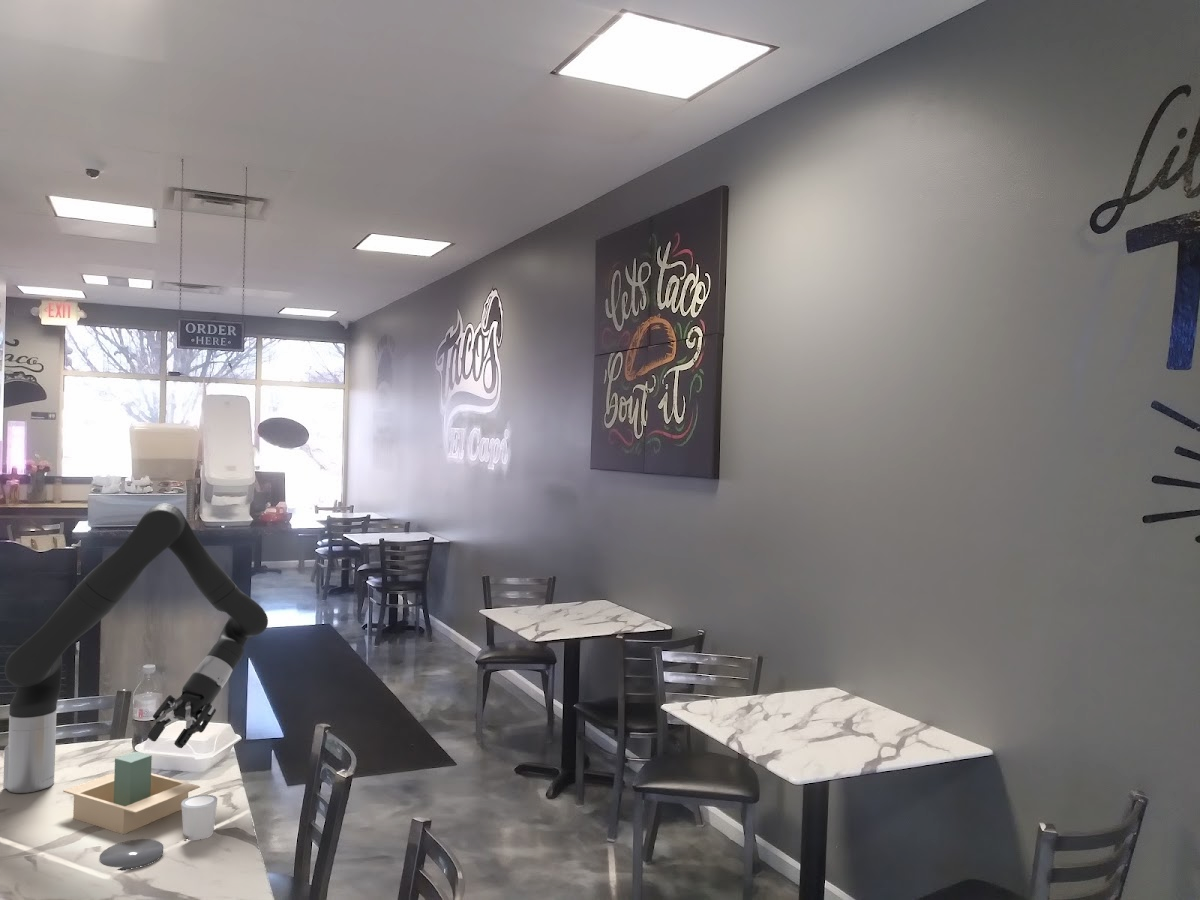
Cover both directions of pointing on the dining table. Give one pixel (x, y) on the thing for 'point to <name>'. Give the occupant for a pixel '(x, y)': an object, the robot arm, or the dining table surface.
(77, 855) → the dining table surface
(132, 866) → the slate plate
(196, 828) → the white cup
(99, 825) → the carton
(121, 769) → the box
